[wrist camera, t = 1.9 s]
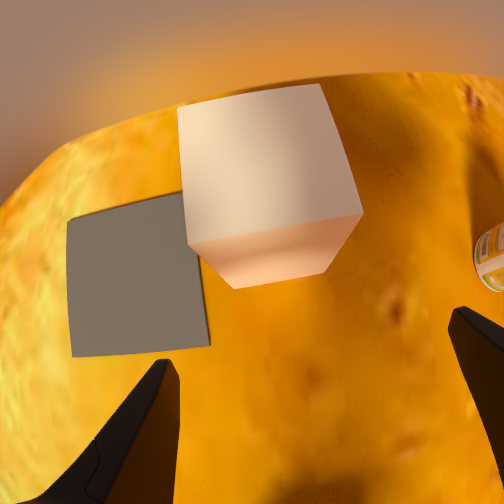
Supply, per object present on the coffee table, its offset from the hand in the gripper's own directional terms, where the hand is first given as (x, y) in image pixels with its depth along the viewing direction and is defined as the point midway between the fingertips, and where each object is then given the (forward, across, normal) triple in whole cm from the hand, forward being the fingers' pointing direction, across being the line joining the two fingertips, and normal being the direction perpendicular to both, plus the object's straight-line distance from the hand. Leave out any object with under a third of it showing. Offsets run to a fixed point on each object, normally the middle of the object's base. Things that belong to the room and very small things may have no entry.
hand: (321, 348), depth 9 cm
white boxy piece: (+15, +1, +4) cm, 16 cm away
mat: (+14, +12, +5) cm, 19 cm away
